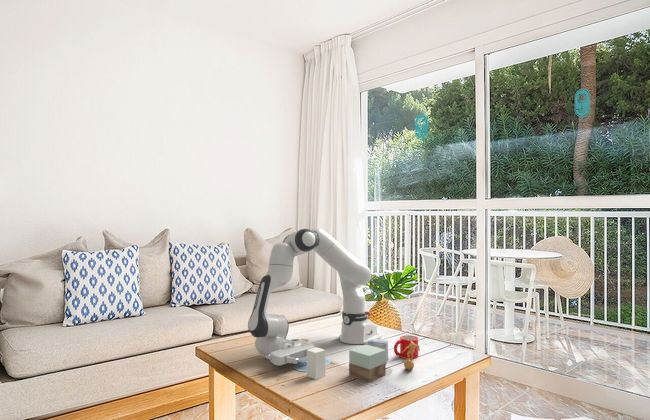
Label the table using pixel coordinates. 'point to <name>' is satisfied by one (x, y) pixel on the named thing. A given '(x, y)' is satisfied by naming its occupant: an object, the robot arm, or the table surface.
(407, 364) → the figurine
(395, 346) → the mug
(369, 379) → the tower bottom
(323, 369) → the tall block
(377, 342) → the medicine box
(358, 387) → the table surface
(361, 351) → the tower top
